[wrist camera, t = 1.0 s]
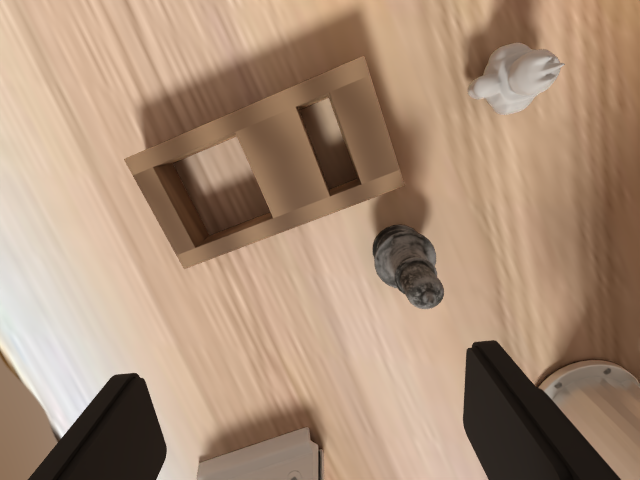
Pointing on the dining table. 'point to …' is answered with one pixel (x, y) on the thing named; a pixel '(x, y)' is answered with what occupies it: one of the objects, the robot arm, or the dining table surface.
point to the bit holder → (275, 163)
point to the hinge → (269, 460)
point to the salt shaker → (408, 265)
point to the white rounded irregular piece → (515, 77)
